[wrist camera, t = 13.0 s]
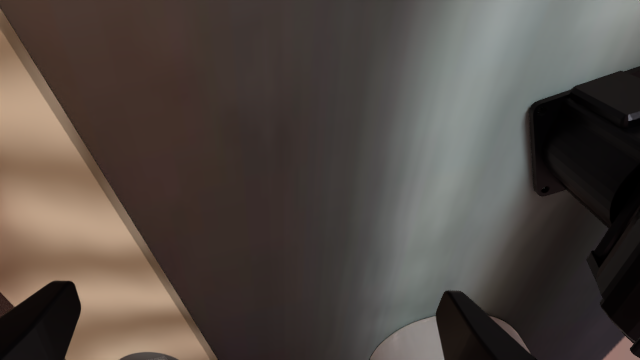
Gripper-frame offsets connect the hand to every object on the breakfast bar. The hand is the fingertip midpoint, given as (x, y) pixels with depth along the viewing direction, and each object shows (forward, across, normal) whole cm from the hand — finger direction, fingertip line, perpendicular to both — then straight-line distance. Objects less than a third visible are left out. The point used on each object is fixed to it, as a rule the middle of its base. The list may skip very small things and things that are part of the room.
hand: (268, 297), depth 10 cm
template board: (+13, +13, +12) cm, 22 cm away
